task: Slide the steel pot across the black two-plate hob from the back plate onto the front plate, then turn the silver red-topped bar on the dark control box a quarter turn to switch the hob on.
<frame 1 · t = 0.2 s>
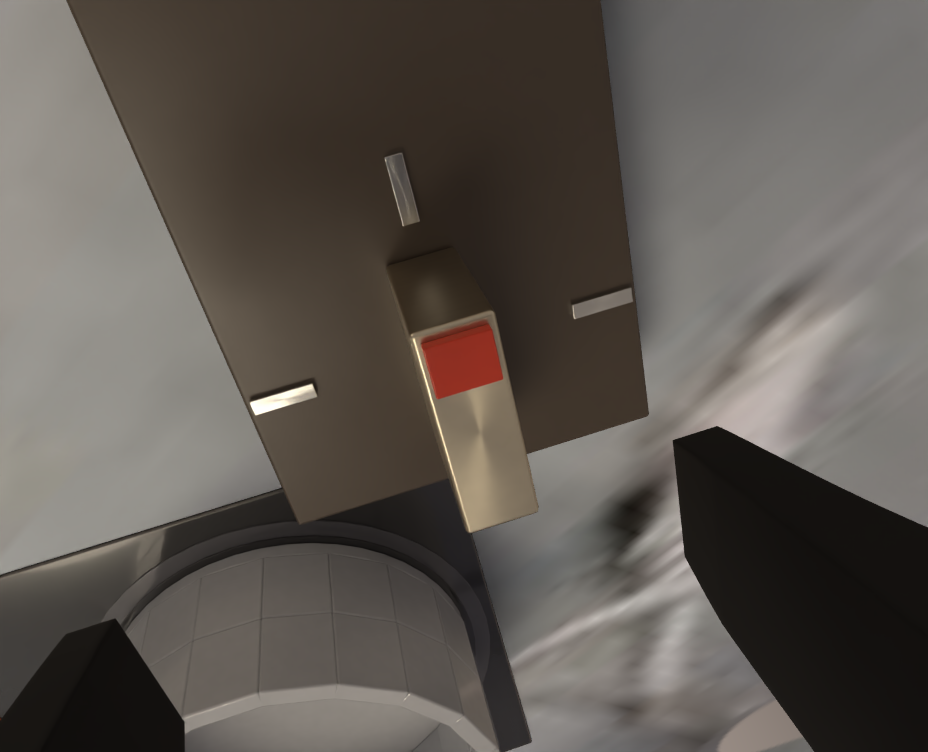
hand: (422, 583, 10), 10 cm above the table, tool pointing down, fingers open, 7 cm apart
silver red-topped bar: (462, 389, 15), point 4 cm above the table, hinge at 0.0°
dial box: (400, 209, 17), on the table
pot: (298, 680, 24), resting on hob
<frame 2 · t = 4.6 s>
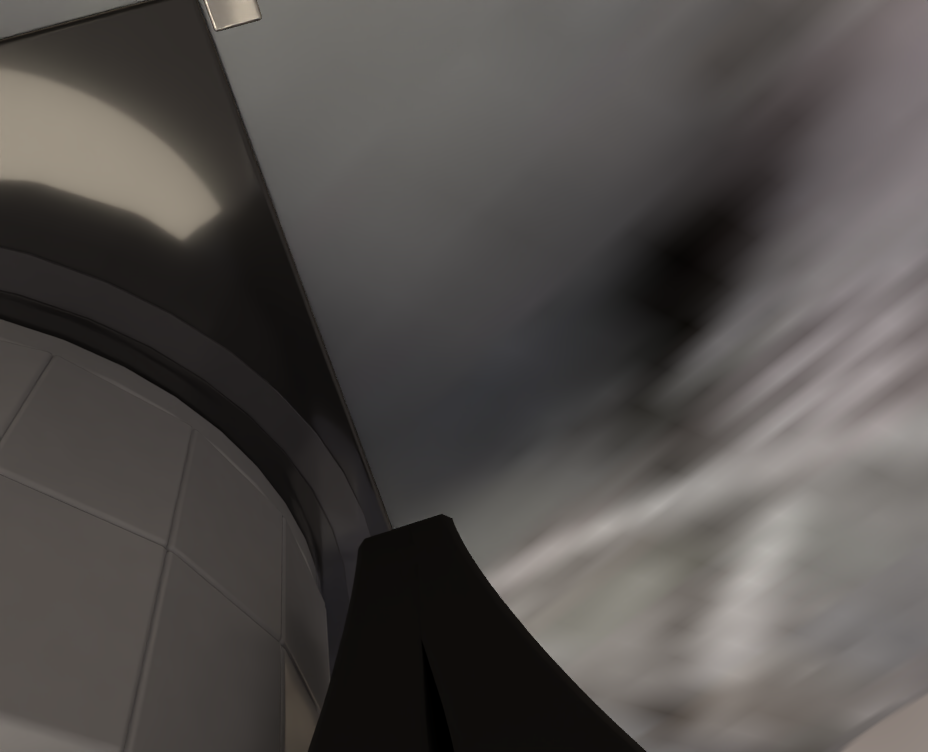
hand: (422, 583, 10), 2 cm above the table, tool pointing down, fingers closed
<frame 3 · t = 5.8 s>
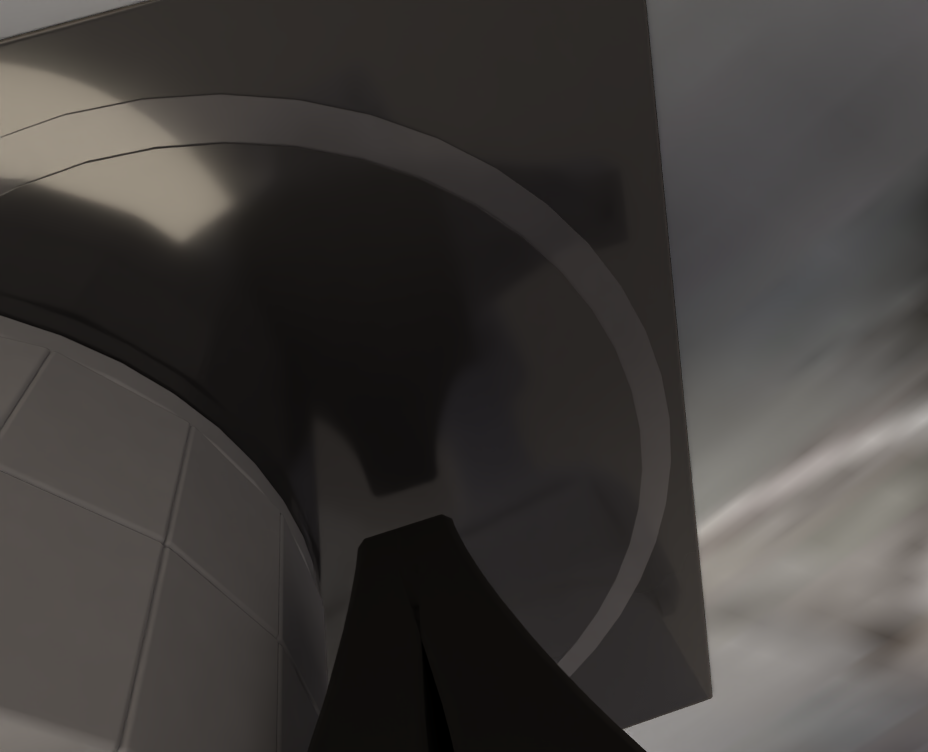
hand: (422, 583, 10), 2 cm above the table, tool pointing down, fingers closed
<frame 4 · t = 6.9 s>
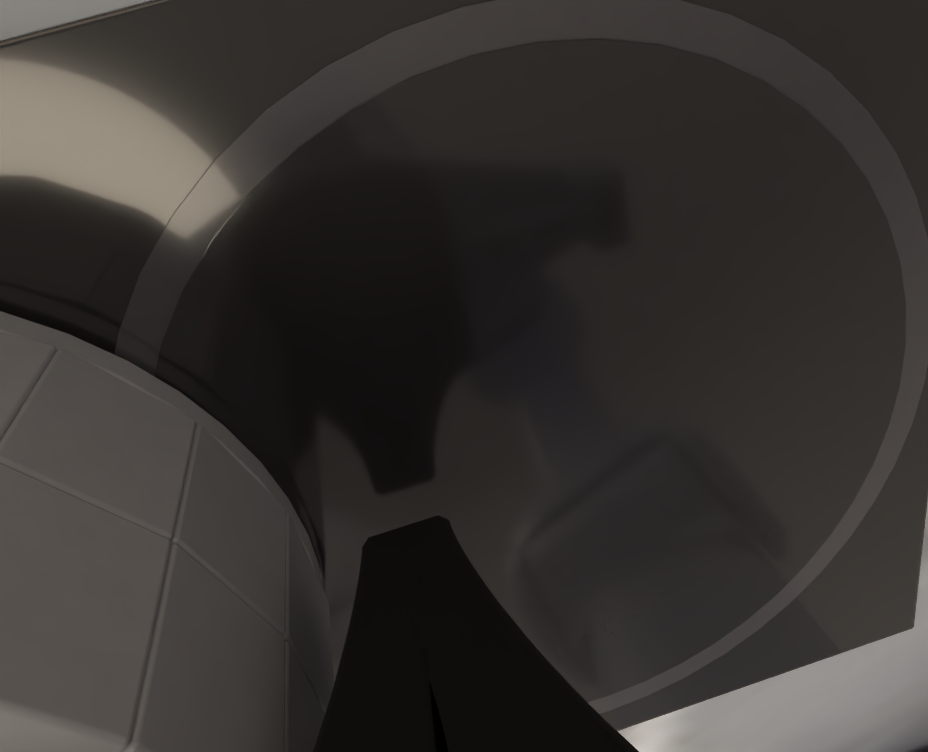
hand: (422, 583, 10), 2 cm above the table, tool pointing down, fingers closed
hob: (44, 614, 11), on the table
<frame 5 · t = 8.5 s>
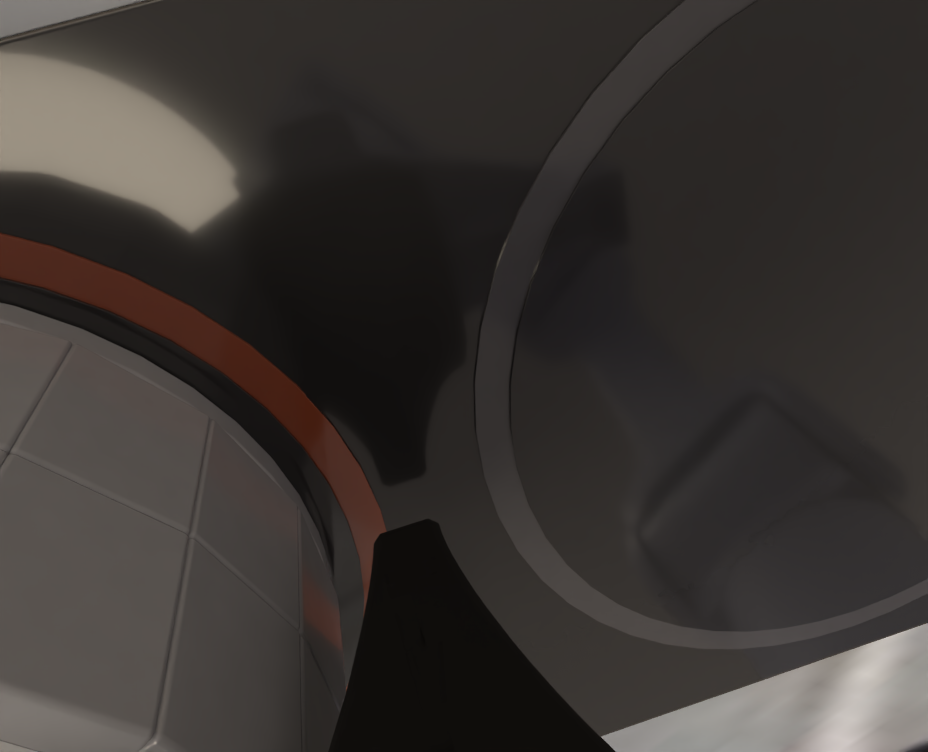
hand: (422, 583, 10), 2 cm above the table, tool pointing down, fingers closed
hob: (383, 505, 11), on the table
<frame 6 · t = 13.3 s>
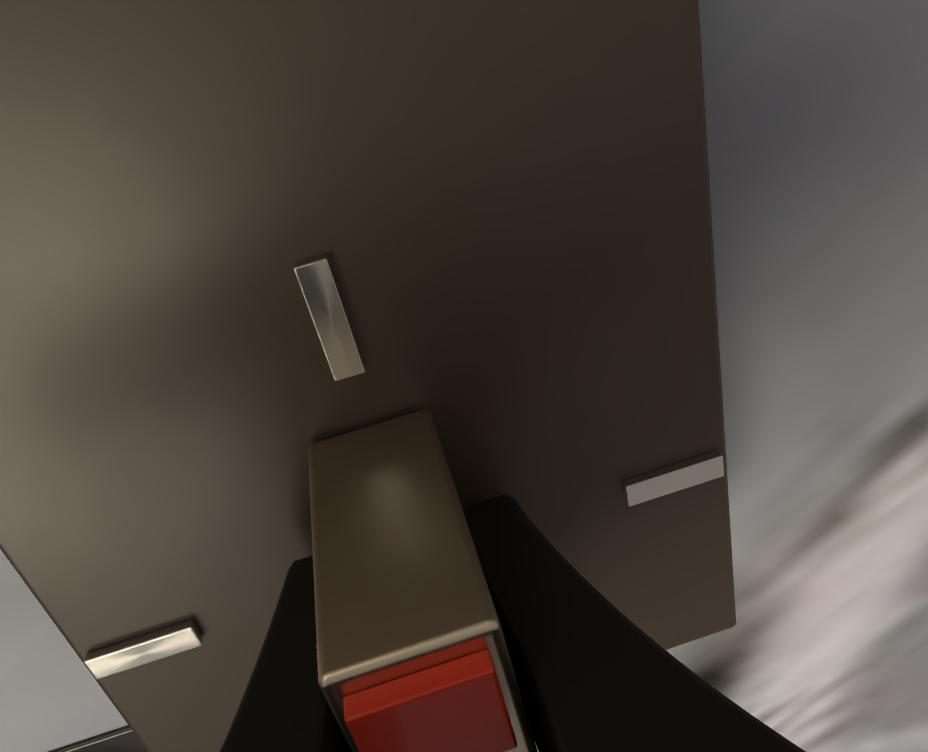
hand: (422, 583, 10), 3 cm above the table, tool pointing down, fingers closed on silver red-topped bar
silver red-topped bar: (440, 672, 8), point 4 cm above the table, hinge at 0.0°, touching gripper
dial box: (346, 319, 11), on the table
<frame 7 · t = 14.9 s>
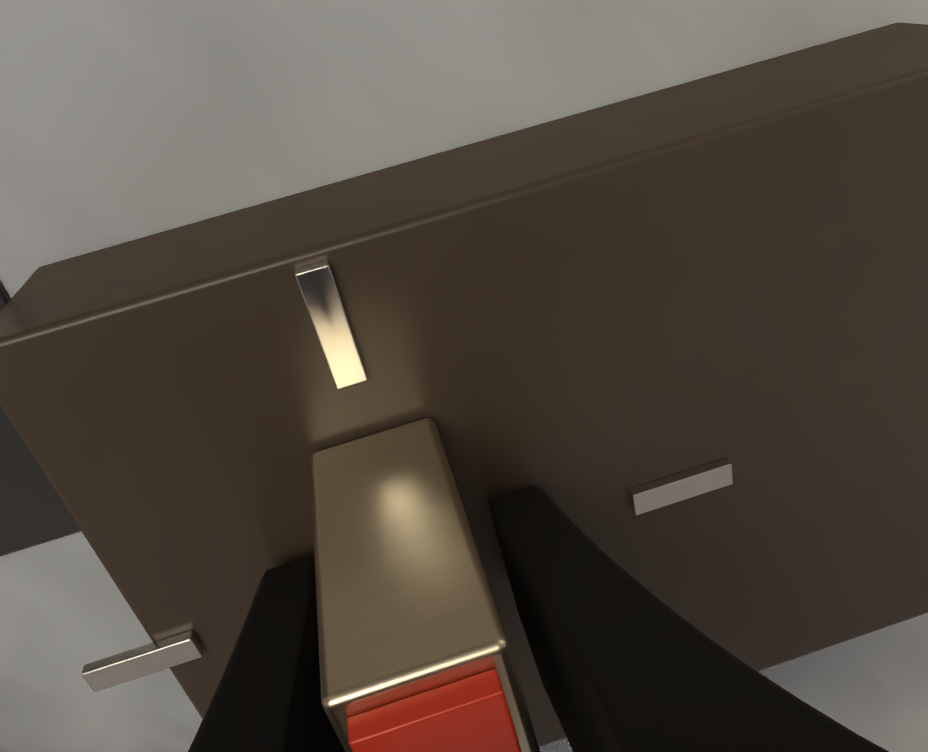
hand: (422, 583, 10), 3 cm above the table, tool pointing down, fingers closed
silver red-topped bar: (444, 687, 8), point 4 cm above the table, hinge at 89.9°
dial box: (542, 414, 12), on the table
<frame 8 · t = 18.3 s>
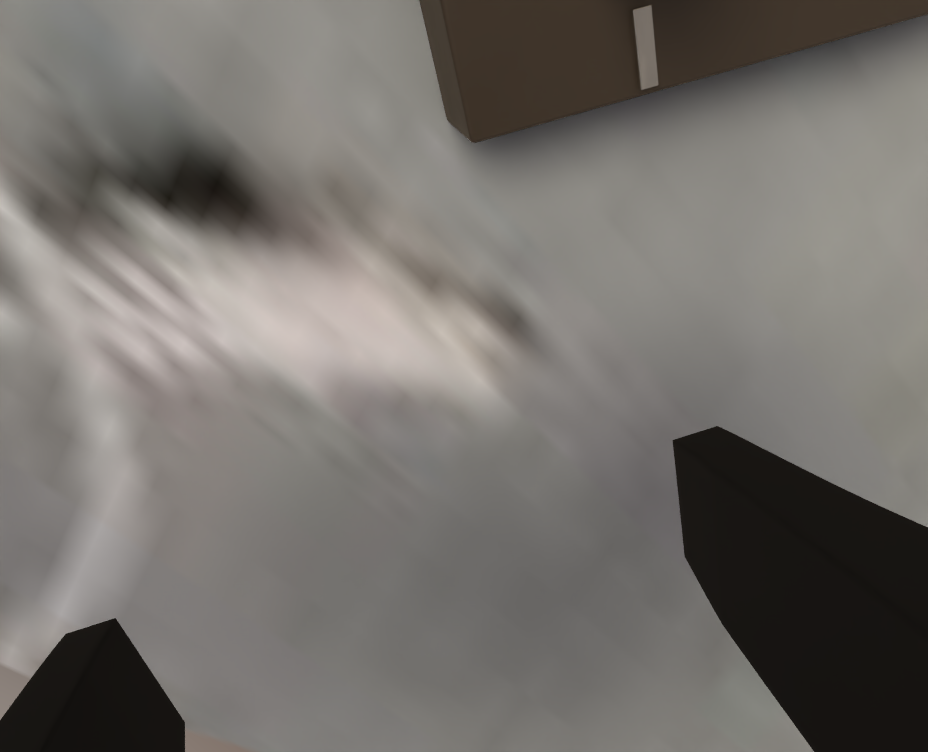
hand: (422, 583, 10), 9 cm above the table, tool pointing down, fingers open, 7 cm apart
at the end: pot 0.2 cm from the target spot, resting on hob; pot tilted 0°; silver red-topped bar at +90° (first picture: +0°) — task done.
